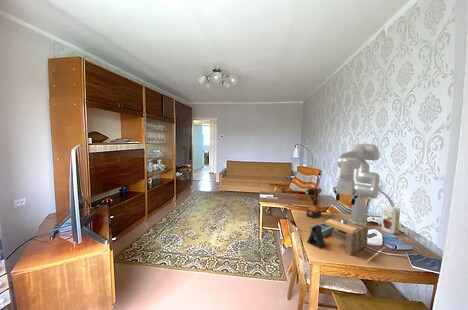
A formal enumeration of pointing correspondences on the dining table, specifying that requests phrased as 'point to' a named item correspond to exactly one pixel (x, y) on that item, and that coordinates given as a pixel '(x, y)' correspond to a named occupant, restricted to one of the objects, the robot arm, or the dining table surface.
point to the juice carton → (390, 219)
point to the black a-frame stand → (319, 237)
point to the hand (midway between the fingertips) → (345, 202)
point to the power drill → (314, 202)
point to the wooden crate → (353, 239)
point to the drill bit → (343, 223)
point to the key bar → (341, 226)
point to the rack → (324, 229)
